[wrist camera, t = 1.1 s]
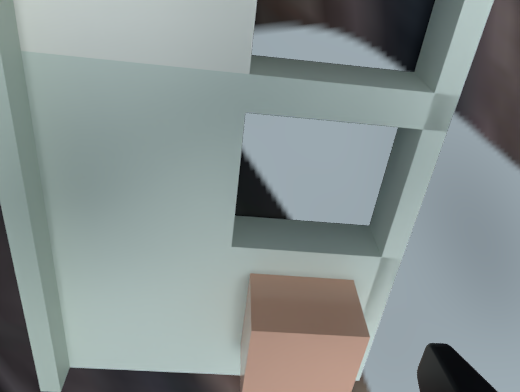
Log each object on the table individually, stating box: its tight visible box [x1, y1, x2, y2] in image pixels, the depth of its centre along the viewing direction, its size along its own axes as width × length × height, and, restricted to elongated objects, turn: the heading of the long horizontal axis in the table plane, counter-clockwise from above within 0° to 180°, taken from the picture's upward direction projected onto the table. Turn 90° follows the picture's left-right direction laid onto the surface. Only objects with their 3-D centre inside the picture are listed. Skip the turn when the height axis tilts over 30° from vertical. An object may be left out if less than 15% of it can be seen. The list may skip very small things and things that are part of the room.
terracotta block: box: [240, 273, 370, 392], centre depth 22 cm, size 5×5×4 cm
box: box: [0, 0, 494, 392], centre depth 20 cm, size 24×17×4 cm
